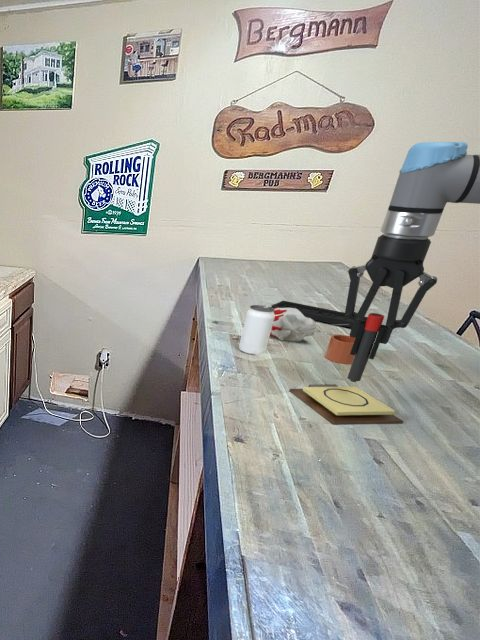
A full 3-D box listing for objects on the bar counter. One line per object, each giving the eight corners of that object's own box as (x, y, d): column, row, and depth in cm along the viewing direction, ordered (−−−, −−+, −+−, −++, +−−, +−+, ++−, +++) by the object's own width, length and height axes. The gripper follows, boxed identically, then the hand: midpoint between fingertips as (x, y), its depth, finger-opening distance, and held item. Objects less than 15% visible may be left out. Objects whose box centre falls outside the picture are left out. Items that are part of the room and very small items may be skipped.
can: (233, 348, 124) (242, 306, 119) (248, 344, 127) (258, 303, 122) (254, 357, 119) (265, 313, 114) (270, 352, 122) (282, 309, 117)
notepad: (394, 414, 90) (395, 410, 90) (336, 415, 90) (338, 411, 89) (354, 389, 100) (355, 386, 99) (302, 390, 99) (303, 386, 99)
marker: (362, 382, 94) (387, 316, 88) (354, 384, 93) (378, 317, 87) (351, 377, 96) (374, 312, 90) (343, 379, 95) (365, 313, 89)
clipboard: (402, 423, 89) (405, 416, 89) (333, 424, 89) (335, 417, 88) (350, 390, 102) (352, 383, 102) (289, 391, 102) (291, 384, 101)
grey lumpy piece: (314, 345, 125) (252, 345, 130) (303, 331, 135) (246, 331, 140) (318, 314, 122) (255, 314, 127) (307, 302, 131) (249, 303, 137)
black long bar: (379, 314, 146) (356, 332, 128) (376, 322, 148) (353, 342, 129) (289, 297, 164) (257, 311, 145) (287, 305, 165) (255, 320, 147)
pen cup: (359, 365, 114) (367, 343, 112) (335, 365, 114) (342, 343, 112) (342, 355, 120) (349, 334, 118) (318, 356, 120) (325, 334, 117)
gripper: (350, 233, 85) (314, 349, 95) (463, 244, 75) (410, 372, 85) (356, 229, 90) (321, 340, 100) (463, 238, 80) (413, 360, 90)
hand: (362, 354), depth 92 cm, fingers closed on marker, 2 cm apart
